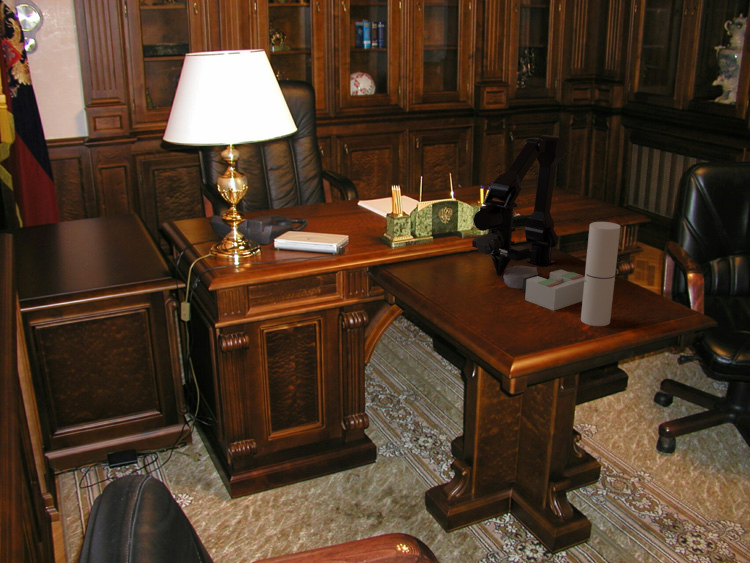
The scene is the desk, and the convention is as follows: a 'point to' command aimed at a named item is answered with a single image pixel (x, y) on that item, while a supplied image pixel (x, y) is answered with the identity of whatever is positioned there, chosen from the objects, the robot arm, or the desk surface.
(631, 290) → the desk surface
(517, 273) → the stone block
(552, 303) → the block
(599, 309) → the cylindrical container
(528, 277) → the black rectangular block
